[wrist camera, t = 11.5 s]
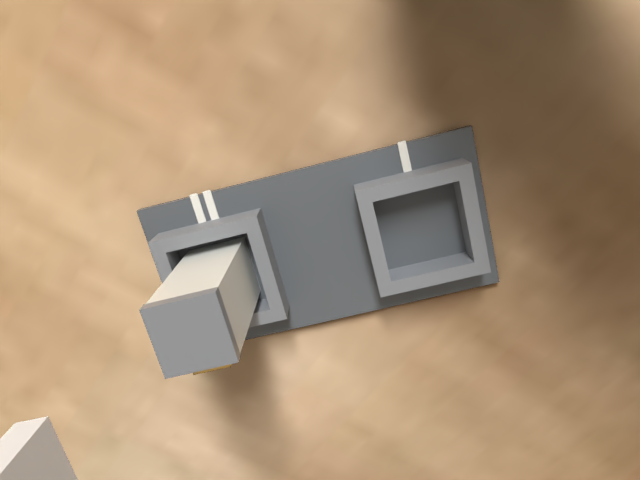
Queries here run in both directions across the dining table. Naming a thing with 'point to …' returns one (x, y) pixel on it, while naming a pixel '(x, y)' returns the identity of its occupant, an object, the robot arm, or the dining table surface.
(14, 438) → the robot arm
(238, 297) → the plug
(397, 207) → the patch panel
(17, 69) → the dining table surface
